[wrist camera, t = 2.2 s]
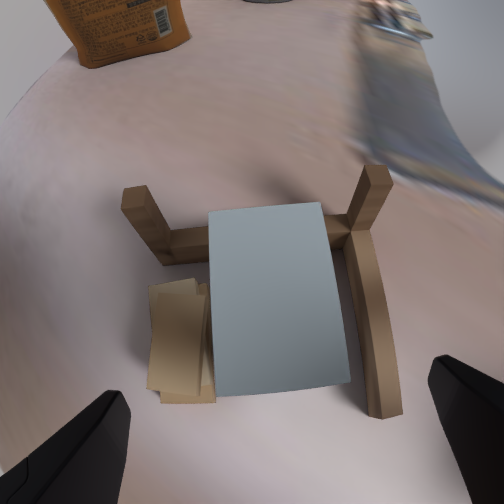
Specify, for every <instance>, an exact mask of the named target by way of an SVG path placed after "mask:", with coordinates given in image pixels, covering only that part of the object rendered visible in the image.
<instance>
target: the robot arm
mask: <svg viewBox="0 0 504 504" xmlns="http://www.w3.org/2000/svg"><path fill="white" fill-rule="evenodd" d="M428 385H429V388H430V391H431V394H432V397H433V400H434V403H435V406H436V410H437V413H438V416H439V419H440V422H441V425H442V427H443V430H444V432H445V434H446V437H447V439H448V441H449V444H450V446H451V449H452V451H453V453H454V456H455V458H456V461H457V463H458V466H459V469H460V471H461V474H462V476H463V479H464V482H465V484H466V487H467V490H468V493H469V495H470V498H471V501H472V504H504V383H502V382H500V381H498V380H496V379H494V378H492V377H490V376H488V375H486V374H484V373H482V372H480V371H478V370H476V369H475V368H473V367H471V366H469V365H467V364H465V363H463V362H461V361H459V360H457V359H455V358H453V357H451V356H449V355H442V356H438V357H435V359H434V360H433V363H432V366H431V369H430V372H429V376H428ZM130 420H131V411H130V408H129V406H128V404H127V402H126V400H125V398H124V396H123V394H122V392H120V391H118V390H107V391H105V392H104V393H103V394H102V395H100V396H99V397H98V398H97V399H96V400H94V401H93V402H92V403H91V404H90V405H88V406H87V407H86V408H85V409H84V410H82V411H81V412H80V413H79V414H78V415H76V416H75V417H74V418H73V419H72V420H70V421H69V422H68V423H67V424H66V425H64V426H63V427H62V428H61V429H60V430H58V431H57V432H56V433H55V434H54V435H52V436H51V437H50V438H49V439H48V440H46V441H45V442H44V443H43V444H42V445H40V446H39V447H38V448H37V449H36V450H34V451H33V452H32V453H31V454H29V455H28V457H26V458H24V459H23V460H22V461H21V462H20V463H18V464H17V465H16V466H14V467H13V468H12V469H11V470H9V471H8V472H7V473H5V474H4V475H2V476H1V477H0V504H117V502H118V497H119V492H120V487H121V482H122V477H123V473H124V468H125V463H126V457H127V448H128V438H129V429H130Z"/></svg>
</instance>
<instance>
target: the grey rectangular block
mask: <svg viewBox="0 0 504 504" xmlns="http://www.w3.org/2000/svg"><path fill="white" fill-rule="evenodd" d="M208 219H209V262H210V291H211V314H212V334H213V352H214V368H215V383H216V397H224V396H241V395H255V394H267V393H277V392H287V391H295V390H303V389H311V388H318V387H325V386H331V385H337V384H343V383H349V382H351V377H350V369H349V361H348V353H347V346H346V339H345V332H344V325H343V319H342V313H341V307H340V301H339V295H338V289H337V283H336V278H335V272H334V267H333V261H332V256H331V251H330V246H329V241H328V236H327V231H326V227H325V222H324V217H323V213H322V208H321V204H320V202H311V203H298V204H286V205H274V206H263V207H252V208H242V209H232V210H222V211H213V212H208Z"/></svg>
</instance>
